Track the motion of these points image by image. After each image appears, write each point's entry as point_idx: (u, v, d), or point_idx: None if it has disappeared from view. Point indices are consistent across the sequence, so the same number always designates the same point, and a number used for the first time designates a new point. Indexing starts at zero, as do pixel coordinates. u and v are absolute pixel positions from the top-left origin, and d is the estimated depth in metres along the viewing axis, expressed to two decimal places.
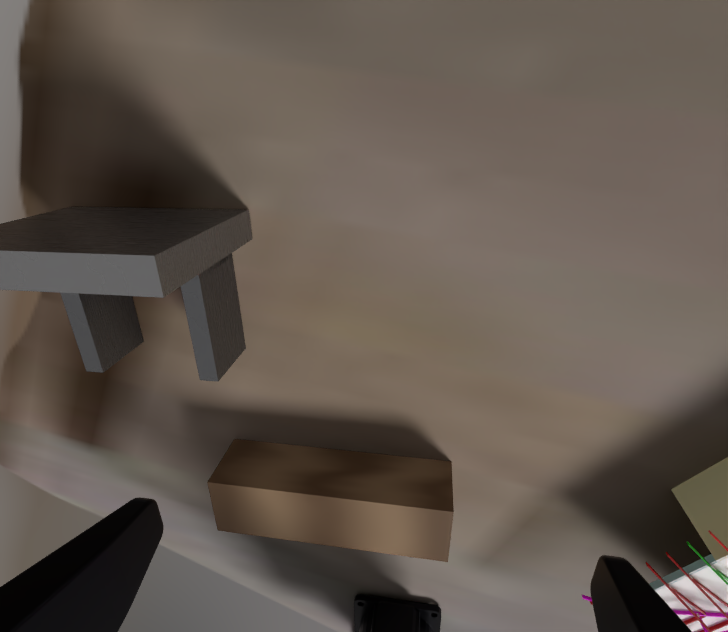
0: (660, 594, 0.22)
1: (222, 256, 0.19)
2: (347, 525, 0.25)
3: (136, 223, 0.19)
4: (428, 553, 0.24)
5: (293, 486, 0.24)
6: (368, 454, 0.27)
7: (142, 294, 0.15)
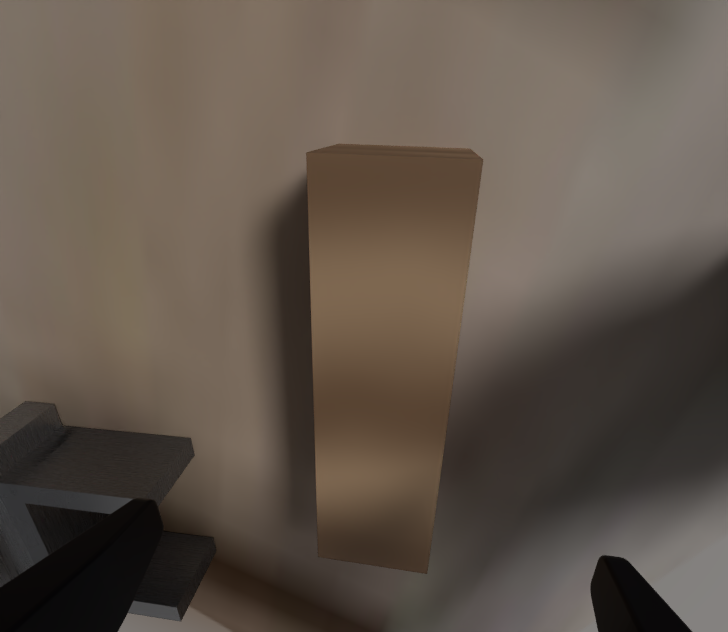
0: None
1: None
2: (383, 374, 0.12)
3: None
4: (453, 209, 0.10)
5: None
6: None
7: None
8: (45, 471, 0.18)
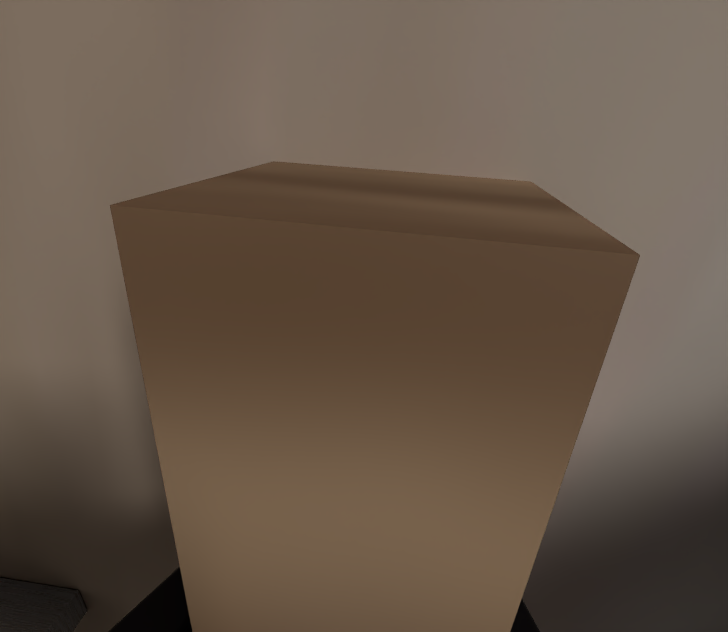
0: None
1: None
2: None
3: None
4: (526, 379, 0.04)
5: None
6: None
7: None
8: None
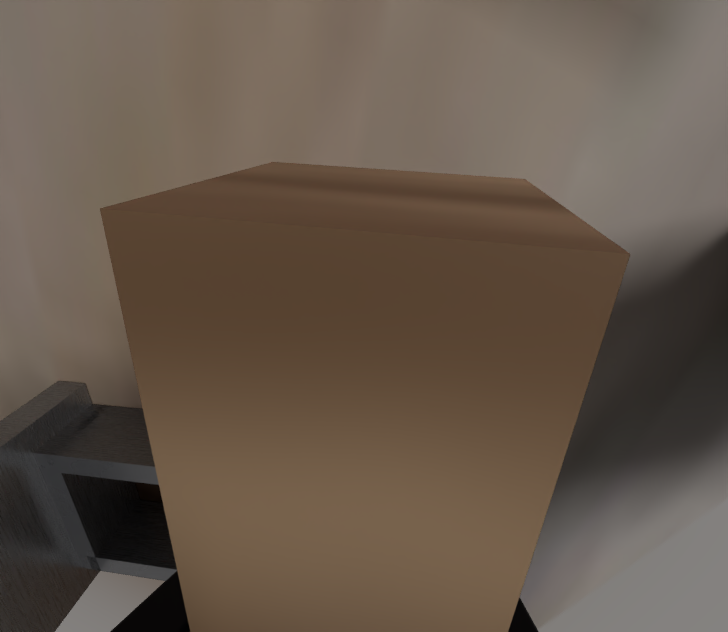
0: None
1: (24, 428, 0.18)
2: None
3: None
4: (519, 378, 0.03)
5: None
6: None
7: None
8: (80, 443, 0.19)
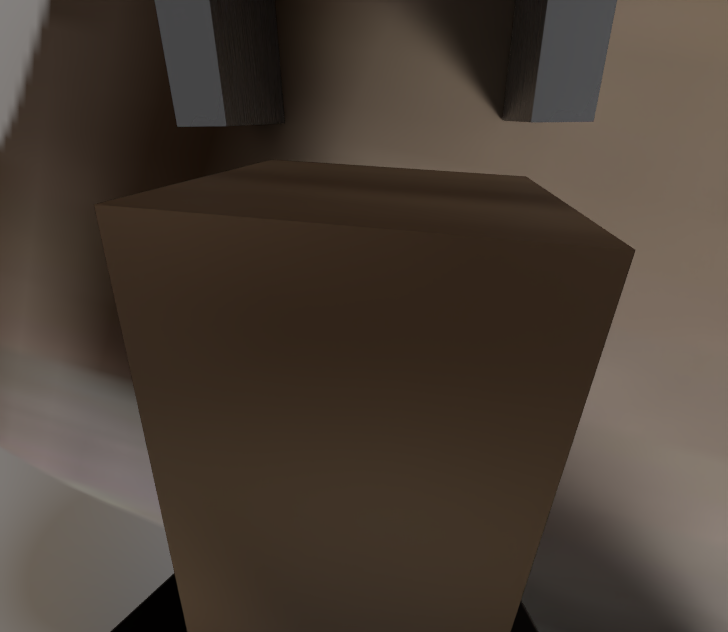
0: None
1: None
2: None
3: None
4: (521, 378, 0.03)
5: None
6: None
7: None
8: None
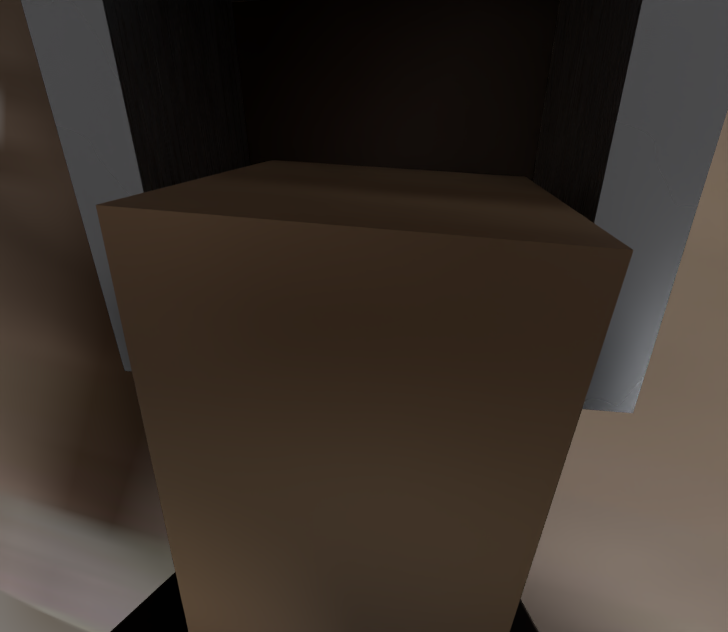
0: None
1: None
2: None
3: None
4: (520, 378, 0.03)
5: None
6: None
7: None
8: None
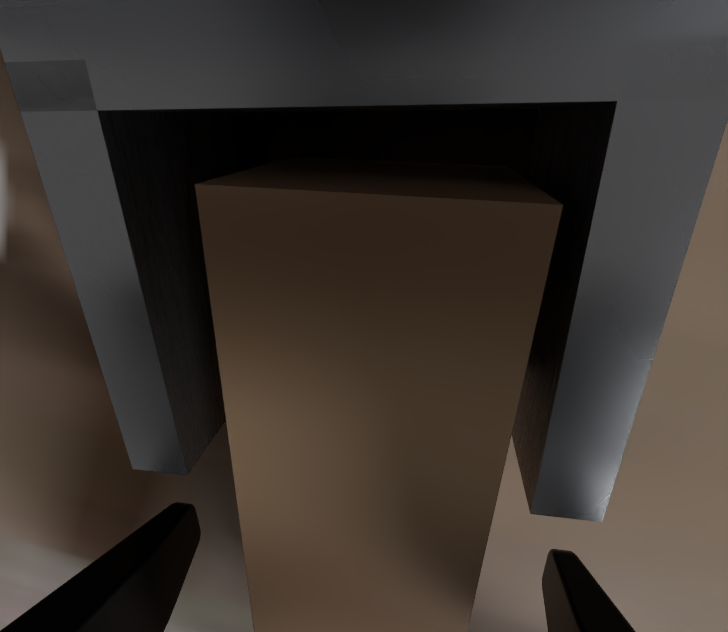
0: None
1: None
2: (359, 554, 0.07)
3: None
4: (493, 300, 0.05)
5: None
6: None
7: None
8: None
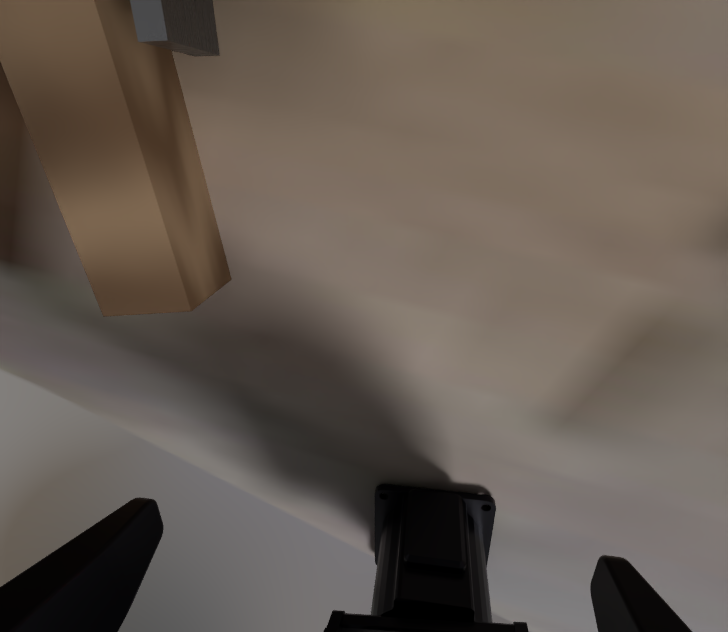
0: None
1: None
2: (66, 86, 0.14)
3: None
4: None
5: None
6: None
7: None
8: None
